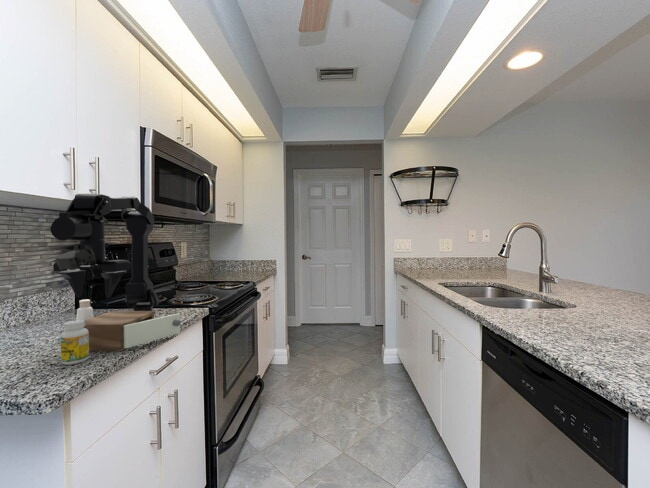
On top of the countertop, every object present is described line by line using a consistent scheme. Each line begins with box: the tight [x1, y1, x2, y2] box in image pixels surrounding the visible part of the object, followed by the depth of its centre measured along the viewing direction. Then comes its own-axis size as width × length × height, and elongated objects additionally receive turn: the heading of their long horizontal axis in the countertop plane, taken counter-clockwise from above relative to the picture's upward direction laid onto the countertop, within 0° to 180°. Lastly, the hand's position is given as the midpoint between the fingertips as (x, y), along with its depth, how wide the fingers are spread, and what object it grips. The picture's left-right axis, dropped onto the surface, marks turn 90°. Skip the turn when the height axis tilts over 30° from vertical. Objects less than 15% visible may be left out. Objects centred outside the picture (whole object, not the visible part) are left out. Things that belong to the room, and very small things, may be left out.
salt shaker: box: [75, 298, 95, 320], centre depth 97 cm, size 5×5×11 cm
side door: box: [124, 312, 181, 349], centre depth 89 cm, size 16×2×6 cm, turn 150°
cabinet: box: [84, 310, 156, 352], centre depth 91 cm, size 16×14×7 cm
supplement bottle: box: [59, 319, 90, 366], centre depth 76 cm, size 5×5×10 cm
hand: (93, 297), depth 85 cm, fingers open, 9 cm apart
